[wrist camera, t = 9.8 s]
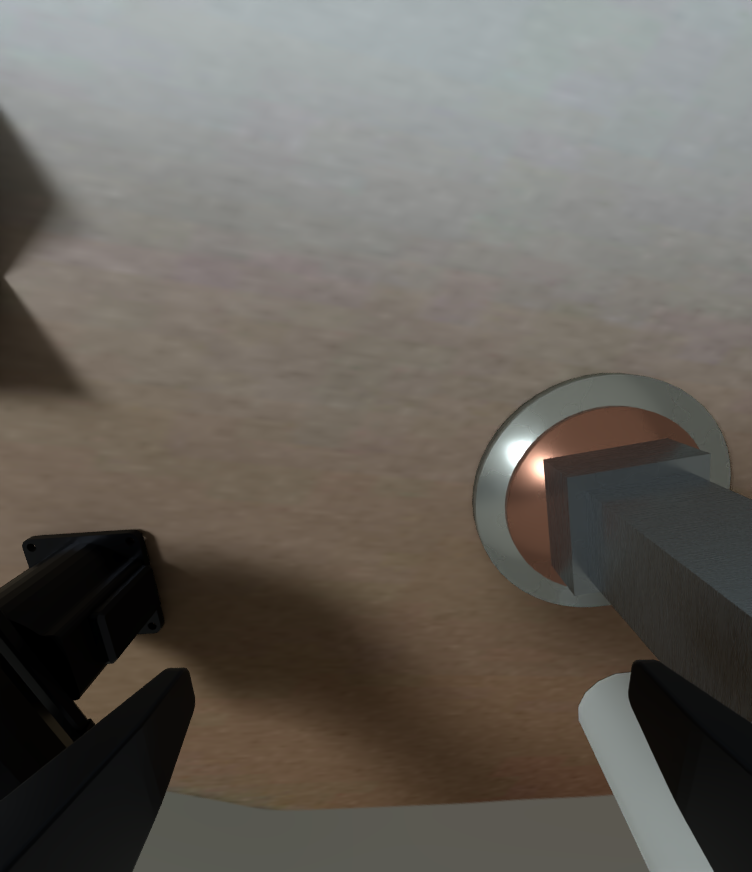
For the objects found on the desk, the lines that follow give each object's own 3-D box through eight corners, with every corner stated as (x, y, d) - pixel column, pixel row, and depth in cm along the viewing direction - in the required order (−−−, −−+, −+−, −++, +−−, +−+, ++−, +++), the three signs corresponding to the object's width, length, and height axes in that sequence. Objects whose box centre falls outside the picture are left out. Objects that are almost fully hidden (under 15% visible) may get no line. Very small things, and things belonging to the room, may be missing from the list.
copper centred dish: (473, 604, 23) (478, 619, 21) (471, 382, 19) (477, 385, 18) (698, 590, 22) (718, 606, 21) (735, 363, 19) (761, 365, 18)
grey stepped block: (551, 565, 21) (774, 865, 9) (543, 459, 19) (798, 655, 7) (666, 547, 20) (1054, 833, 9) (668, 438, 19) (1138, 608, 7)
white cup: (550, 727, 25) (658, 974, 15) (610, 650, 24) (771, 872, 14) (636, 761, 26) (790, 1017, 16) (699, 689, 24) (911, 925, 15)
